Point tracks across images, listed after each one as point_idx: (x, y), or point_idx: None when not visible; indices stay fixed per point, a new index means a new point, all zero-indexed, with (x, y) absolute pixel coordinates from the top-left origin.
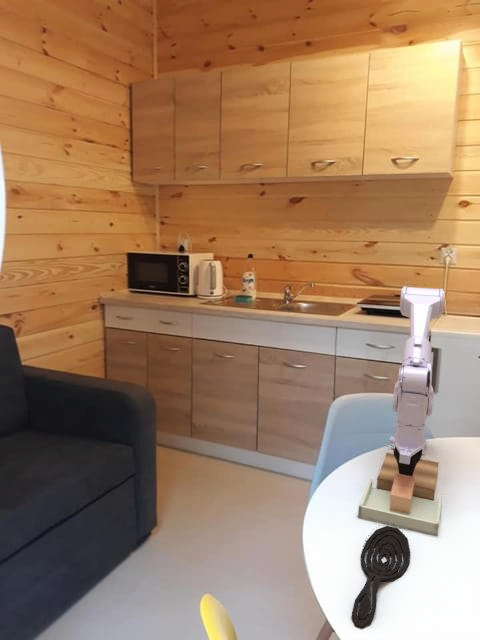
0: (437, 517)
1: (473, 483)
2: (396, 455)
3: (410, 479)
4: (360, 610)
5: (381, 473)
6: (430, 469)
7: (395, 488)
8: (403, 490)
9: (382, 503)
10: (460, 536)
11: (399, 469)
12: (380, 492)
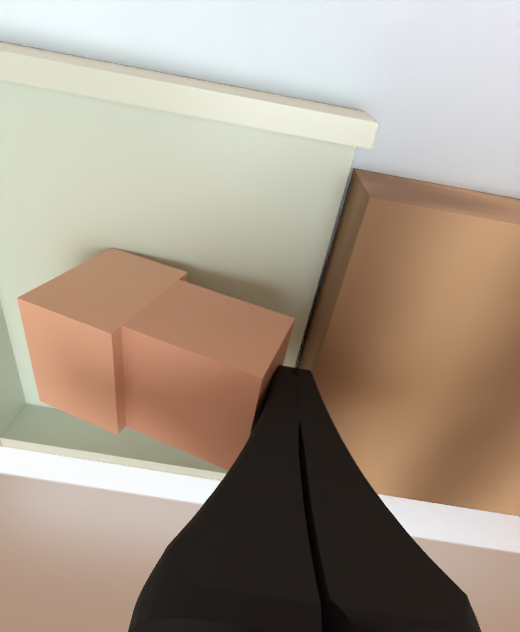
0: (44, 448)
1: (465, 542)
2: (148, 585)
3: (211, 445)
4: None
5: (452, 233)
6: (512, 492)
7: (82, 341)
8: (84, 383)
9: (155, 207)
10: (70, 458)
11: (255, 430)
12: (296, 198)
